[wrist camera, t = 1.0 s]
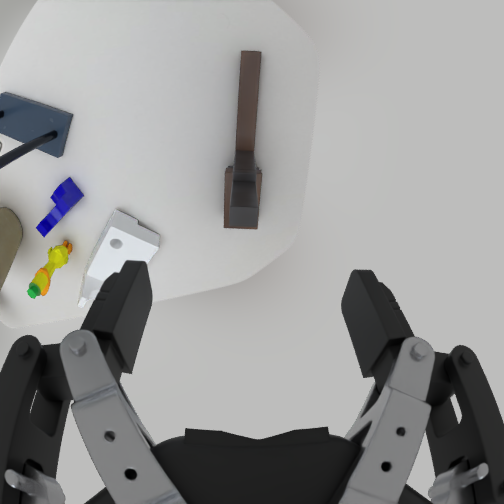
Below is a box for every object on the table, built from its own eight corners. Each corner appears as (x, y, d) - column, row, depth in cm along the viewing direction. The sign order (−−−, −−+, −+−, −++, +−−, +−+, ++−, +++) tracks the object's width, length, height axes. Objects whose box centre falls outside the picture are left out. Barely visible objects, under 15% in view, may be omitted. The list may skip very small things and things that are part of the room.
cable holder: (69, 177, 31) (54, 188, 28) (84, 195, 33) (70, 208, 30) (43, 207, 33) (29, 220, 30) (56, 223, 35) (44, 237, 32)
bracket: (123, 282, 43) (119, 320, 38) (85, 267, 39) (77, 305, 34) (159, 230, 38) (158, 270, 32) (115, 209, 34) (106, 248, 28)
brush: (269, 54, 24) (290, 32, 12) (256, 217, 36) (262, 298, 24) (232, 52, 24) (221, 27, 12) (225, 216, 36) (216, 296, 24)
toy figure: (72, 266, 40) (40, 317, 30) (55, 256, 39) (21, 304, 29) (79, 237, 37) (41, 289, 27) (62, 226, 36) (21, 275, 26)
